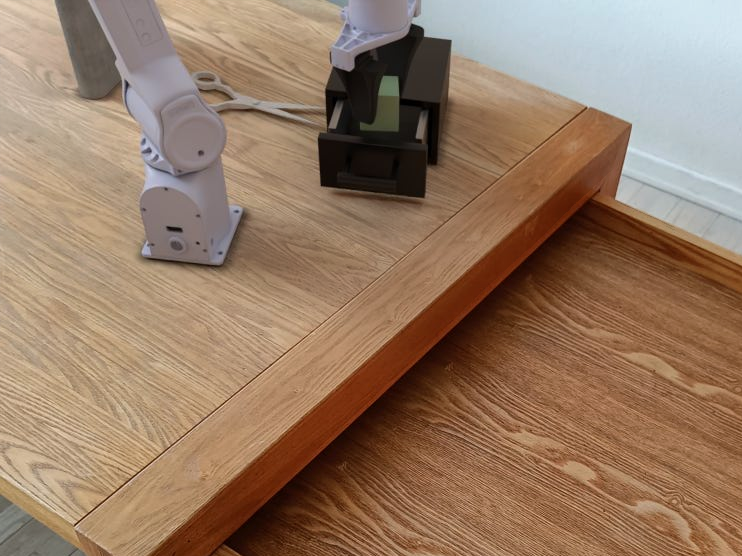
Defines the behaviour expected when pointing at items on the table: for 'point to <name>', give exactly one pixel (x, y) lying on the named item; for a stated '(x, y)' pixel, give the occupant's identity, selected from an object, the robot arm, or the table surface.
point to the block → (386, 107)
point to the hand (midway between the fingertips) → (378, 108)
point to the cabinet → (414, 87)
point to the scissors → (245, 98)
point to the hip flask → (88, 49)
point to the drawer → (376, 153)
